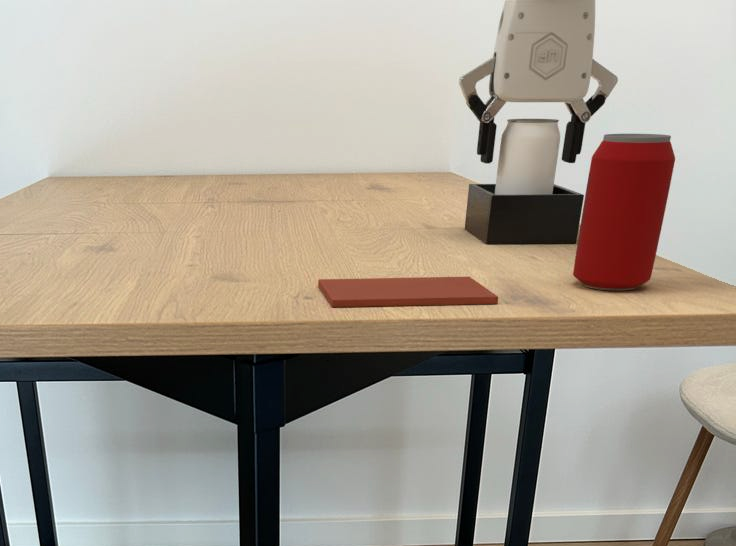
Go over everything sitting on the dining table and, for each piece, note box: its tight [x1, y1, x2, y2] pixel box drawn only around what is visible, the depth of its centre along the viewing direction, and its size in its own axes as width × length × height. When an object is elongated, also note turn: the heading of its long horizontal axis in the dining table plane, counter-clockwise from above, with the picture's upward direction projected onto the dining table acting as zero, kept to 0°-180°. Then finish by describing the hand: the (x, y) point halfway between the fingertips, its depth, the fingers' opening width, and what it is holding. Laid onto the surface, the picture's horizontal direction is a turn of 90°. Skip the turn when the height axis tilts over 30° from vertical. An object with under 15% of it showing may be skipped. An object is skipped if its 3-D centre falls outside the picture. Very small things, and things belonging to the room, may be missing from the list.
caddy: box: [464, 183, 585, 245], centre depth 109 cm, size 12×10×5 cm
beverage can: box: [572, 133, 676, 292], centre depth 82 cm, size 7×7×12 cm
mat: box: [317, 276, 499, 308], centre depth 81 cm, size 14×9×1 cm, turn 94°
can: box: [495, 118, 561, 195], centre depth 107 cm, size 6×6×12 cm
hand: (527, 162), depth 106 cm, fingers open, 9 cm apart
